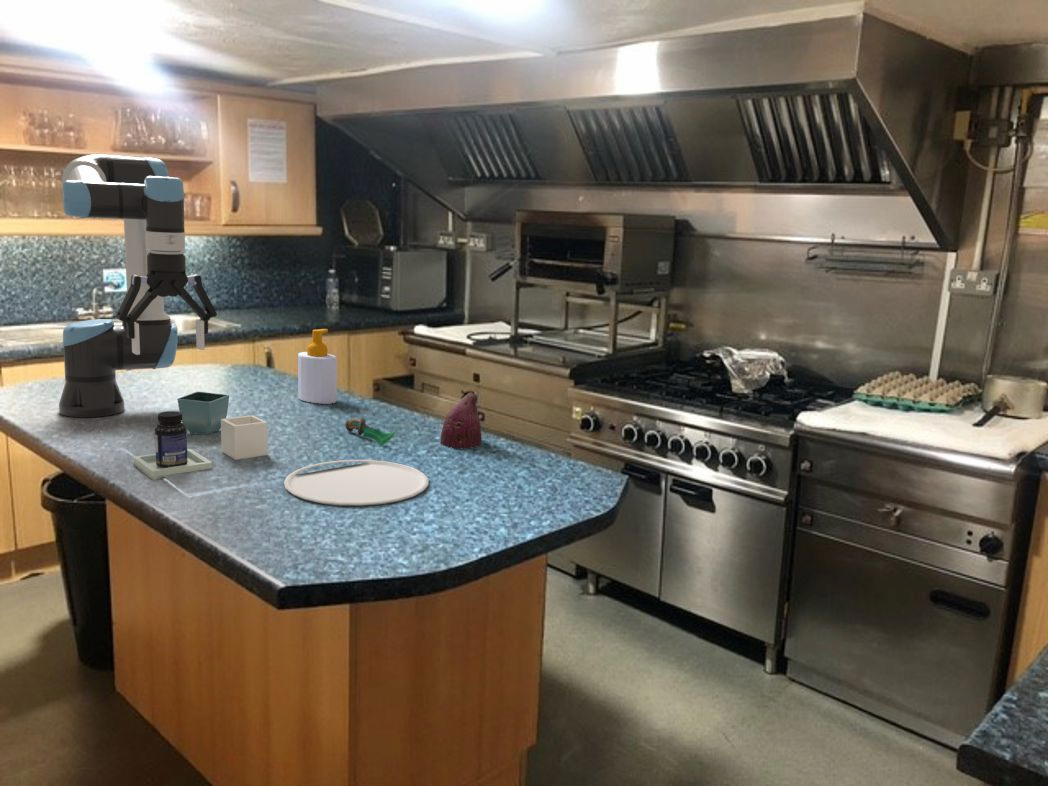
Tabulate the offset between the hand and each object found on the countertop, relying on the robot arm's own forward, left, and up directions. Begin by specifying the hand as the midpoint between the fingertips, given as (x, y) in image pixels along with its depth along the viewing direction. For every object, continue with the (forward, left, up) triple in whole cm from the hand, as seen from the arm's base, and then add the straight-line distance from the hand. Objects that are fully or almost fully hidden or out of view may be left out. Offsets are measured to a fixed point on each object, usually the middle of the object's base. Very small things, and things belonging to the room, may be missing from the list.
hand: (169, 351), depth 186 cm
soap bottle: (-32, +52, -23) cm, 65 cm away
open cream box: (+10, +12, -23) cm, 28 cm away
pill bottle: (+11, -4, -22) cm, 25 cm away
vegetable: (+26, +60, -23) cm, 69 cm away
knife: (+13, +43, -23) cm, 50 cm away
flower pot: (-13, +12, -23) cm, 29 cm away
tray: (+11, -4, -23) cm, 26 cm away
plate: (+40, +23, -23) cm, 52 cm away
